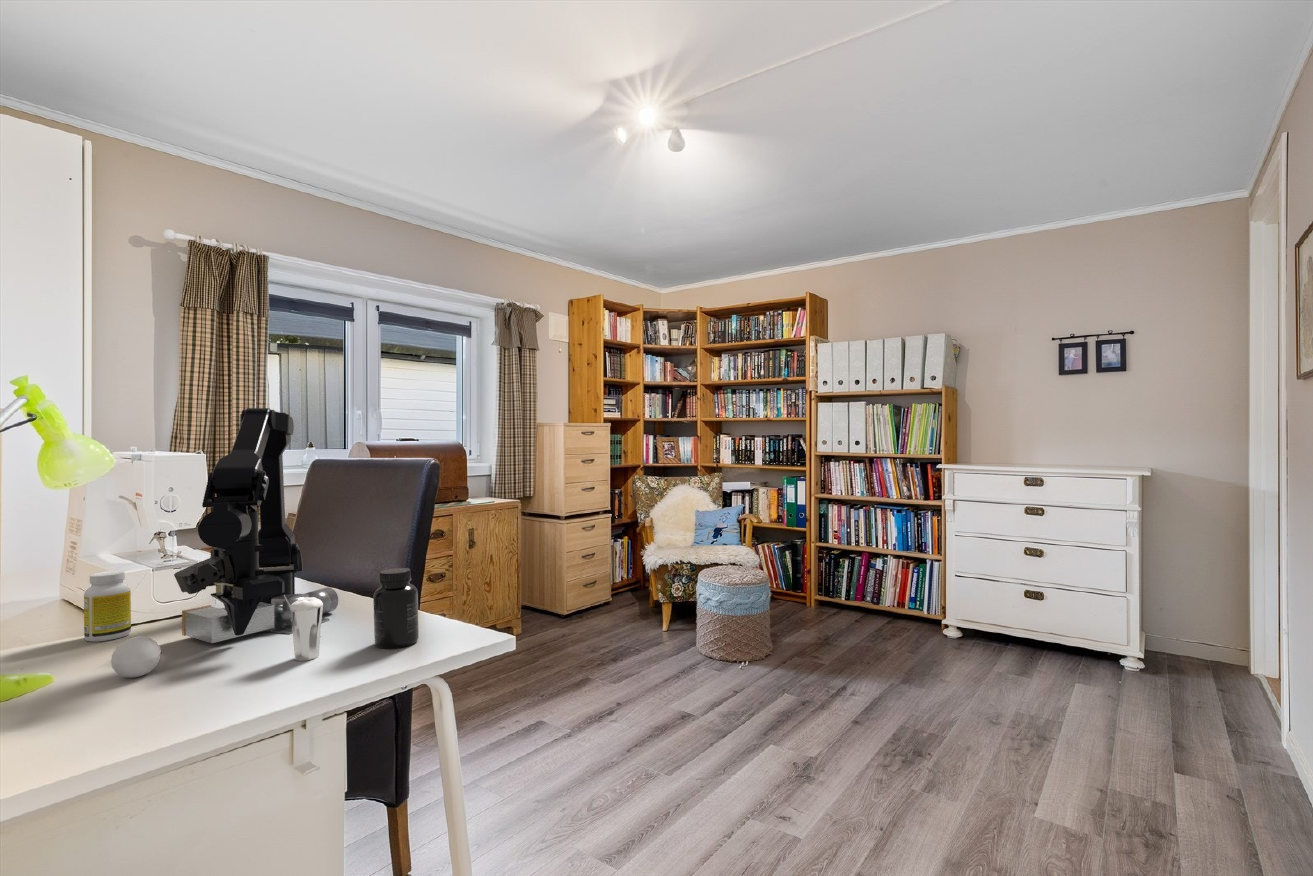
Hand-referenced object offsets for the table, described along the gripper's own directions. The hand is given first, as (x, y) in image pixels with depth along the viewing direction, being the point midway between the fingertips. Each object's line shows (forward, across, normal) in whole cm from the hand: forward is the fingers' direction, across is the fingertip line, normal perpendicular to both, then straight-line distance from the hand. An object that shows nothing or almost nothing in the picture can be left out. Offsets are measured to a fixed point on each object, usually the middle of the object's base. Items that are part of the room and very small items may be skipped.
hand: (239, 635), depth 107 cm
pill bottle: (+1, -24, -11) cm, 26 cm away
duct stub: (+1, -5, +13) cm, 14 cm away
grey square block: (+1, -7, +1) cm, 7 cm away
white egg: (+2, +2, -14) cm, 15 cm away
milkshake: (+2, +16, +2) cm, 16 cm away
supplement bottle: (+2, +21, +15) cm, 26 cm away
